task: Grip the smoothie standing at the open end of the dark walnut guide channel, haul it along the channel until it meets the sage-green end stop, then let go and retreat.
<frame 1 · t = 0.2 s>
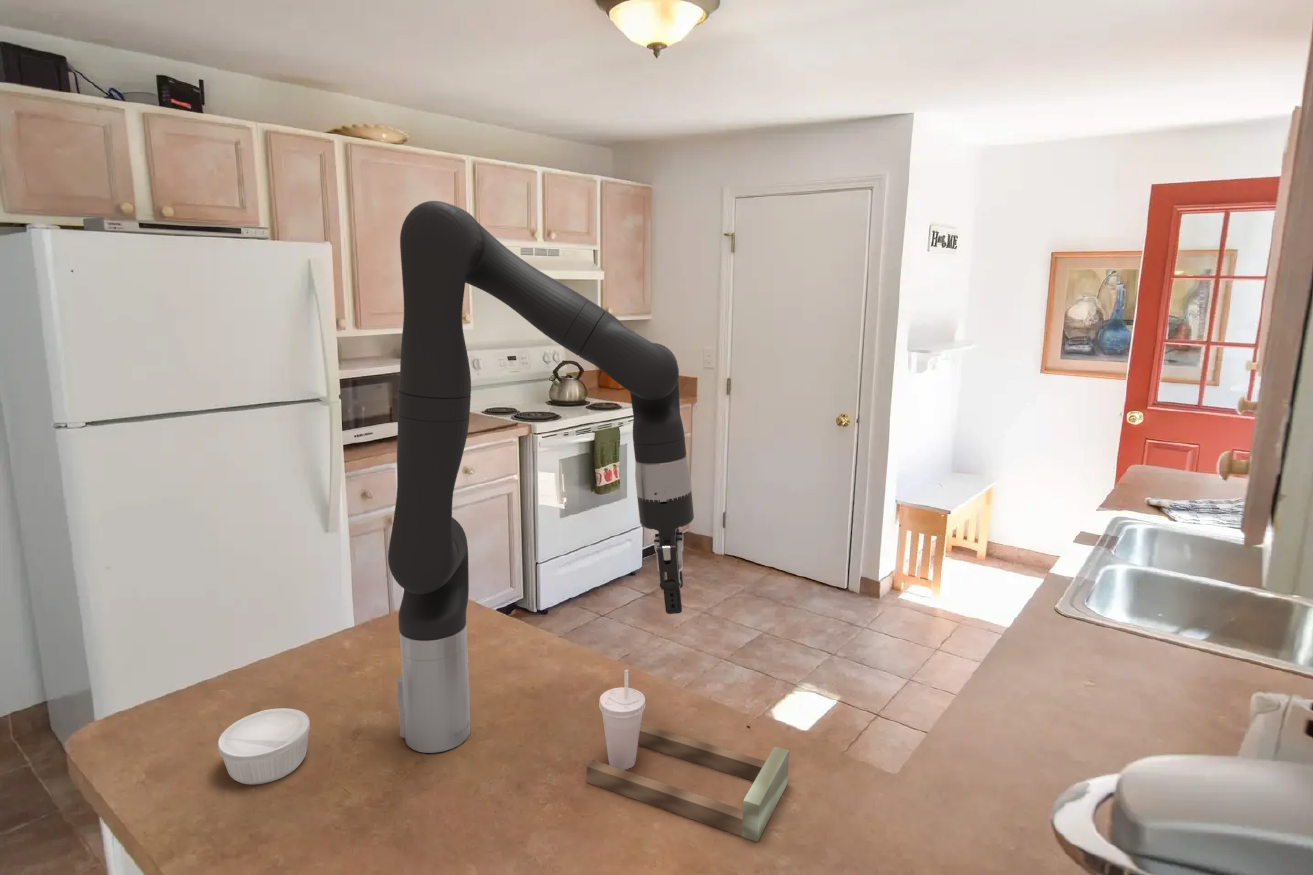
hand: (674, 599, 108), 22 cm above the countertop, tool pointing down, fingers open, 8 cm apart
smoothie: (621, 762, 106), on the countertop
guide channel: (687, 782, 102), on the countertop
ramekin: (268, 765, 105), on the countertop
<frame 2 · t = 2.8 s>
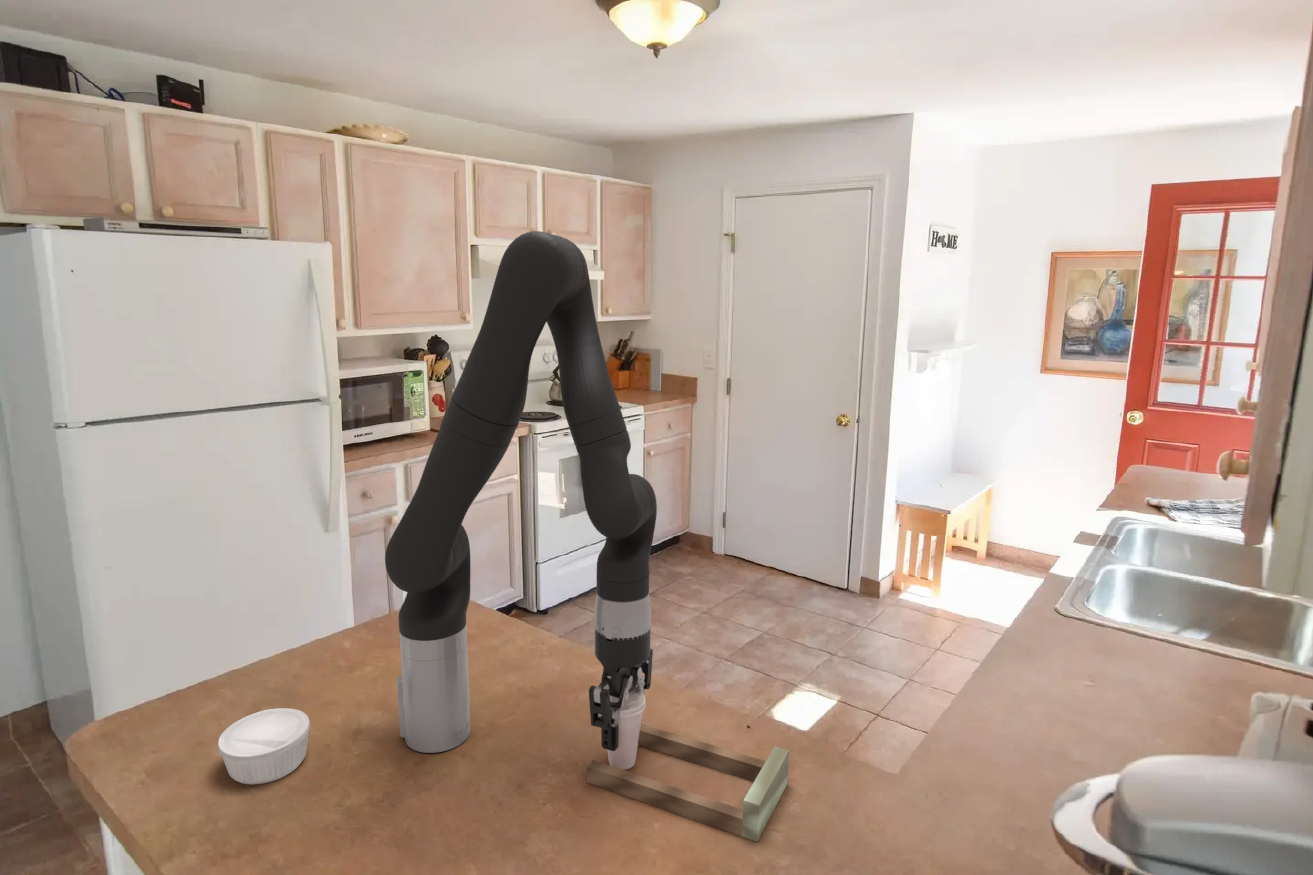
hand: (622, 734, 105), 4 cm above the countertop, tool pointing down, fingers closed on smoothie, 6 cm apart
smoothie: (621, 762, 106), on the countertop, touching gripper
everything else where it was.
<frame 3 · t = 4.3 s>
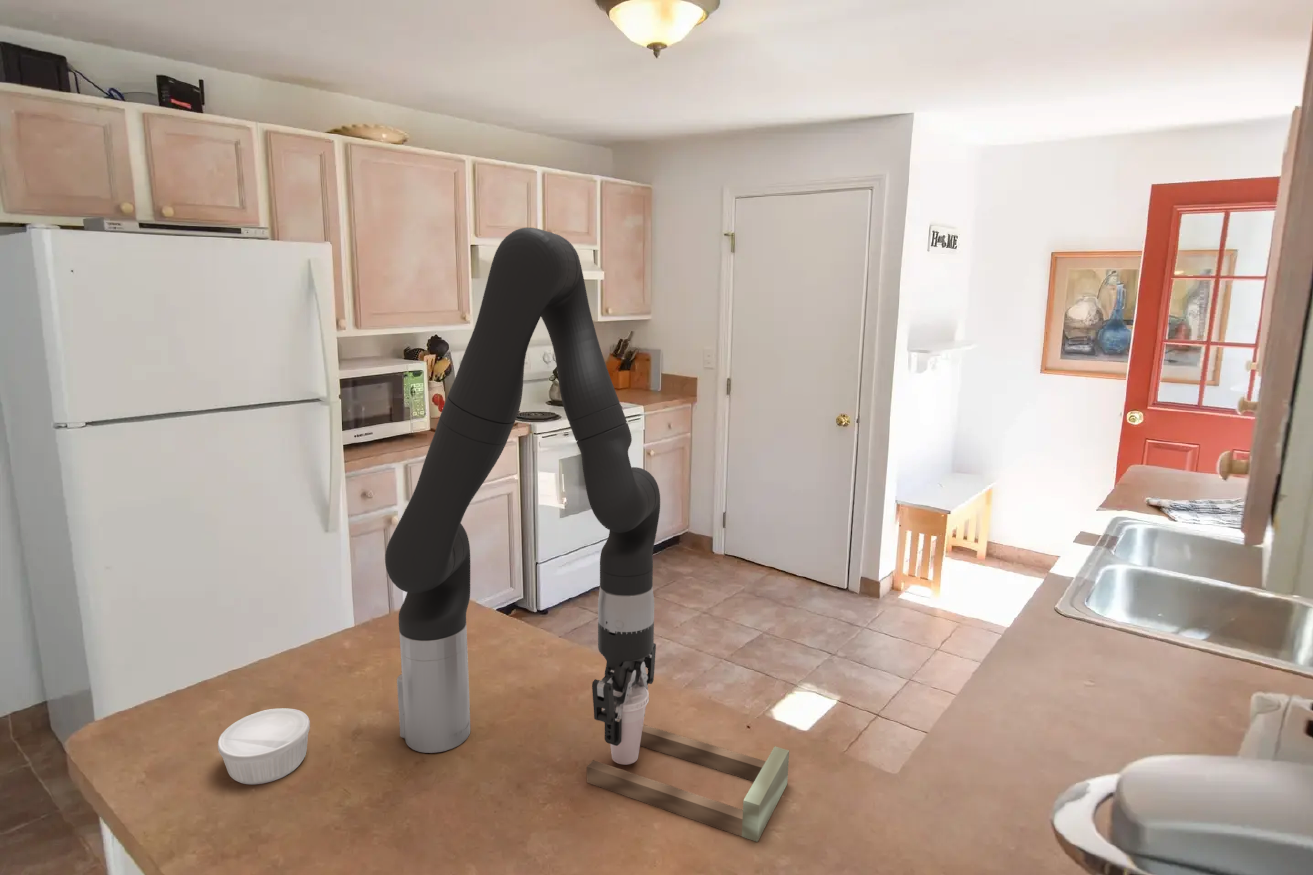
hand: (625, 729, 105), 5 cm above the countertop, tool pointing down, fingers closed on smoothie, 6 cm apart
smoothie: (624, 757, 106), point 1 cm above the countertop, touching gripper
everything else where it was.
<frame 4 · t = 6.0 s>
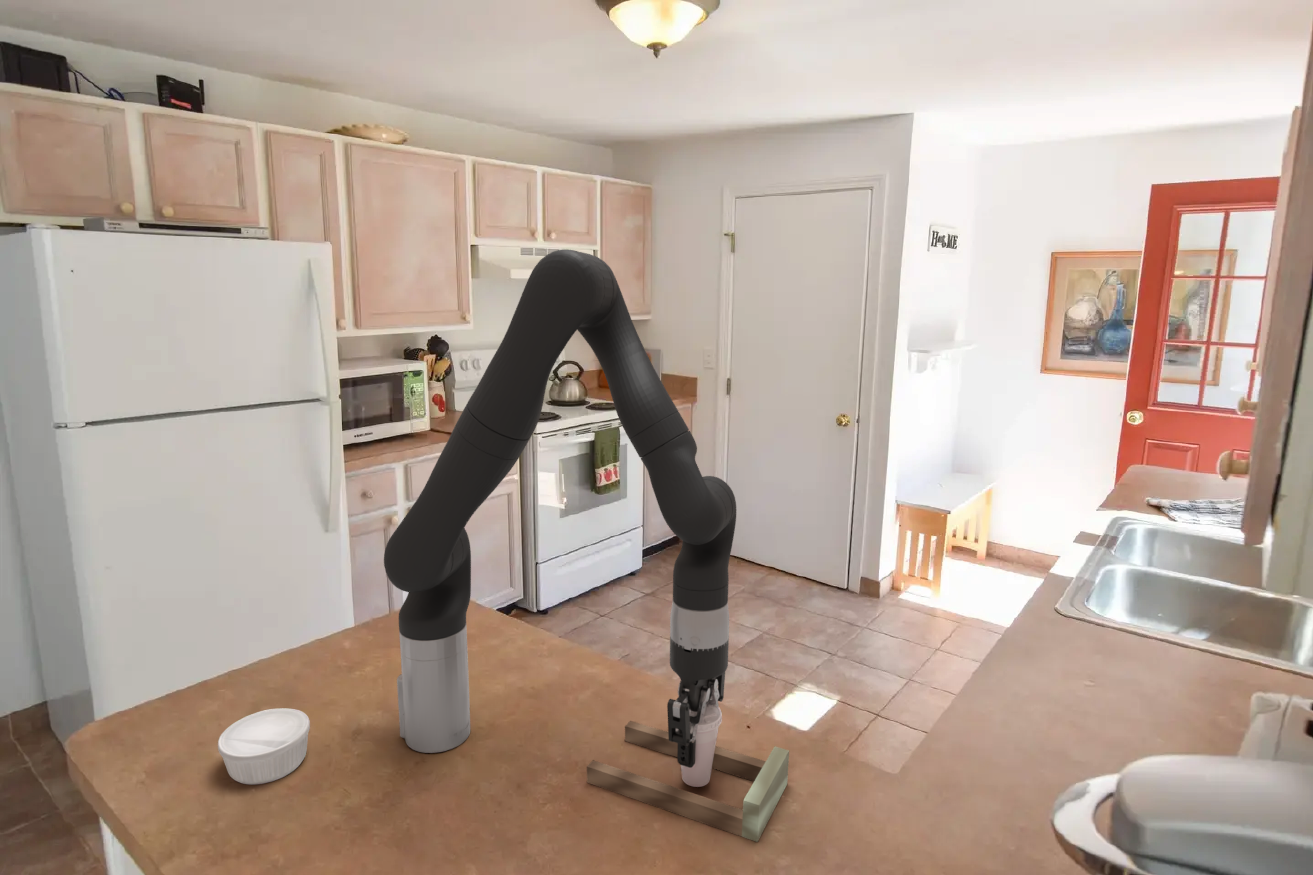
hand: (696, 749, 100), 5 cm above the countertop, tool pointing down, fingers closed on smoothie, 6 cm apart
smoothie: (695, 779, 101), point 1 cm above the countertop, touching gripper
everything else where it was.
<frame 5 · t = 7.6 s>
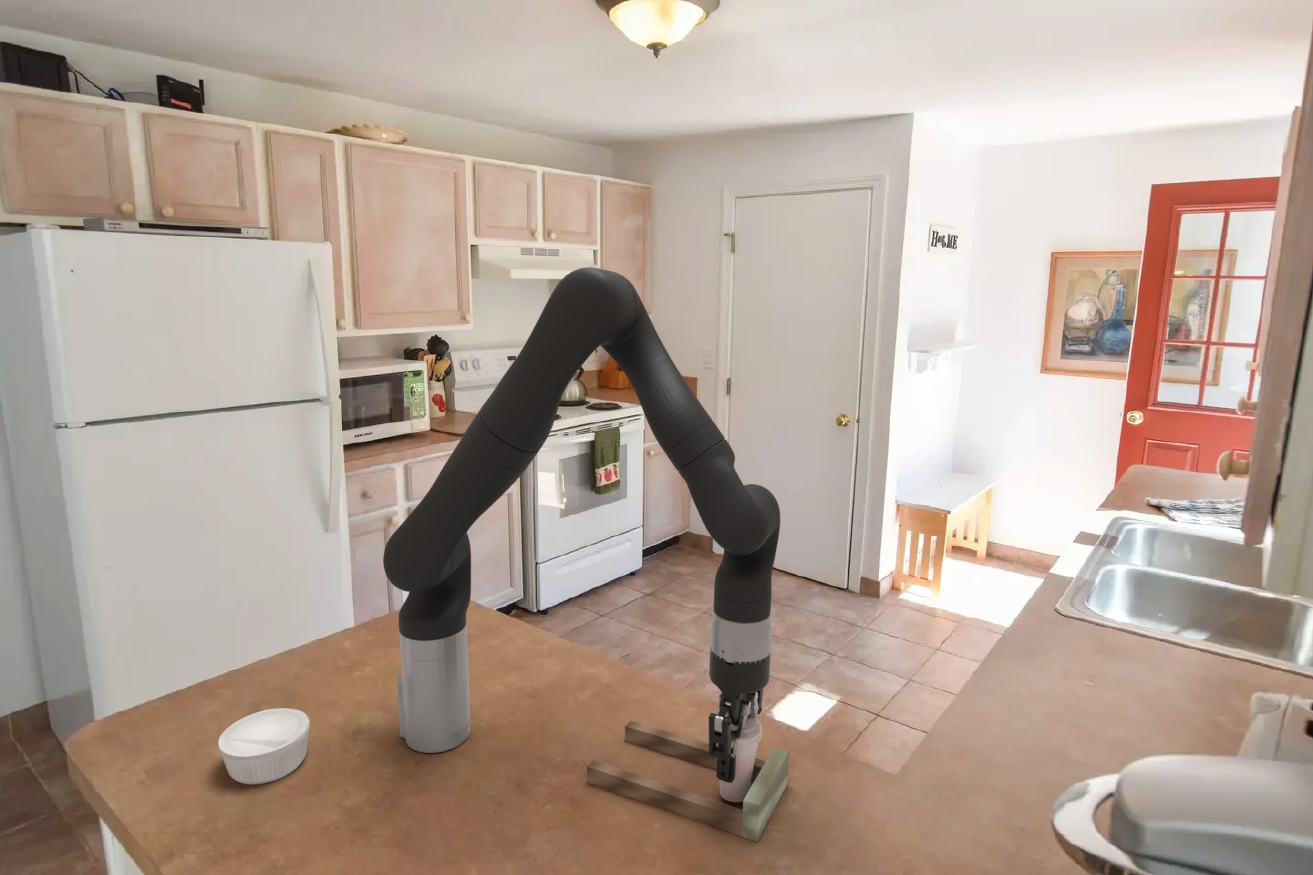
hand: (735, 764, 98), 5 cm above the countertop, tool pointing down, fingers closed on smoothie, 6 cm apart
smoothie: (733, 793, 99), point 1 cm above the countertop, touching gripper
everything else where it was.
when the fingers open (4 cm above the countertop, at t = 8.9 s): smoothie stays where it is, on the countertop.
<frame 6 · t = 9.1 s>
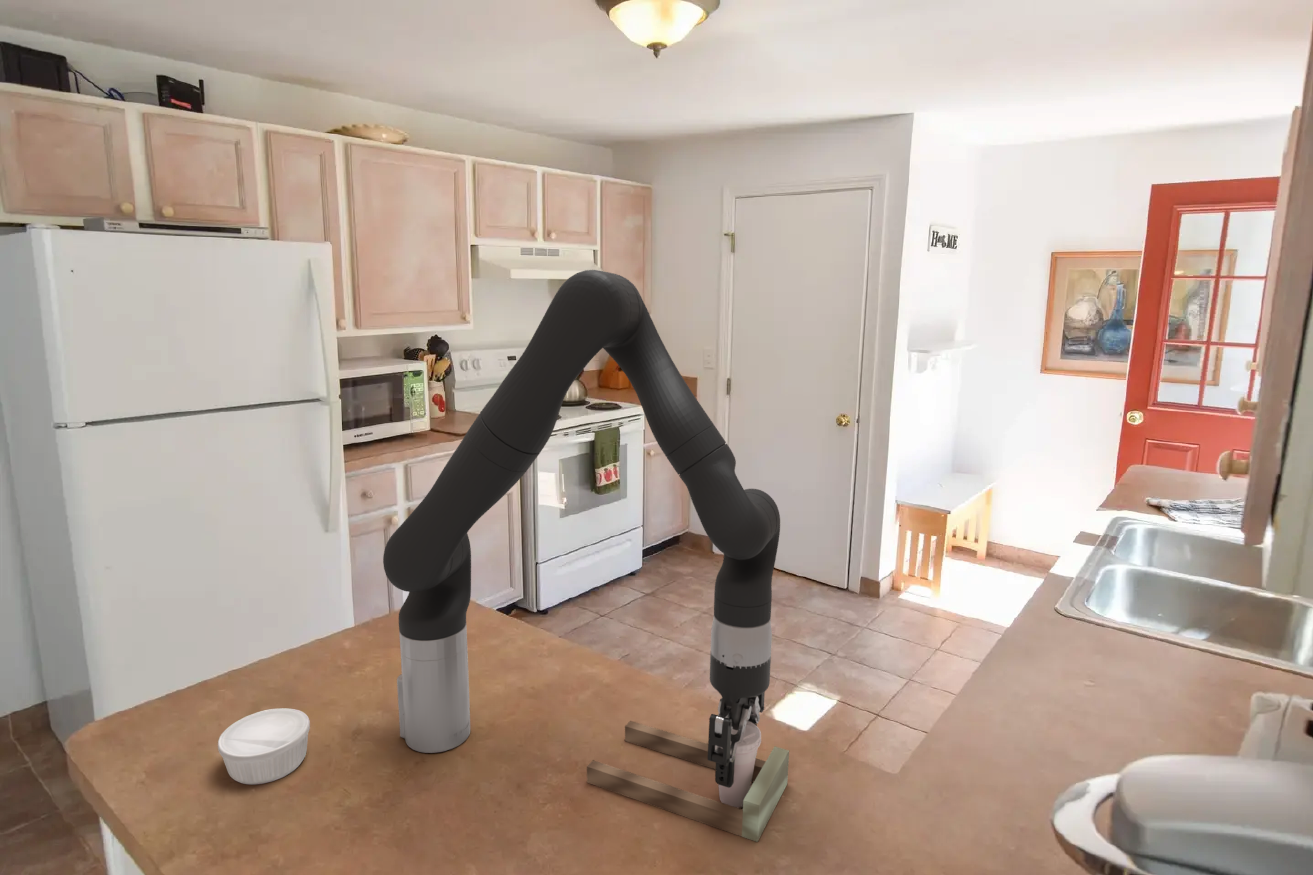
hand: (736, 765, 98), 5 cm above the countertop, tool pointing down, fingers open, 8 cm apart
smoothie: (733, 799, 99), on the countertop
everything else where it was.
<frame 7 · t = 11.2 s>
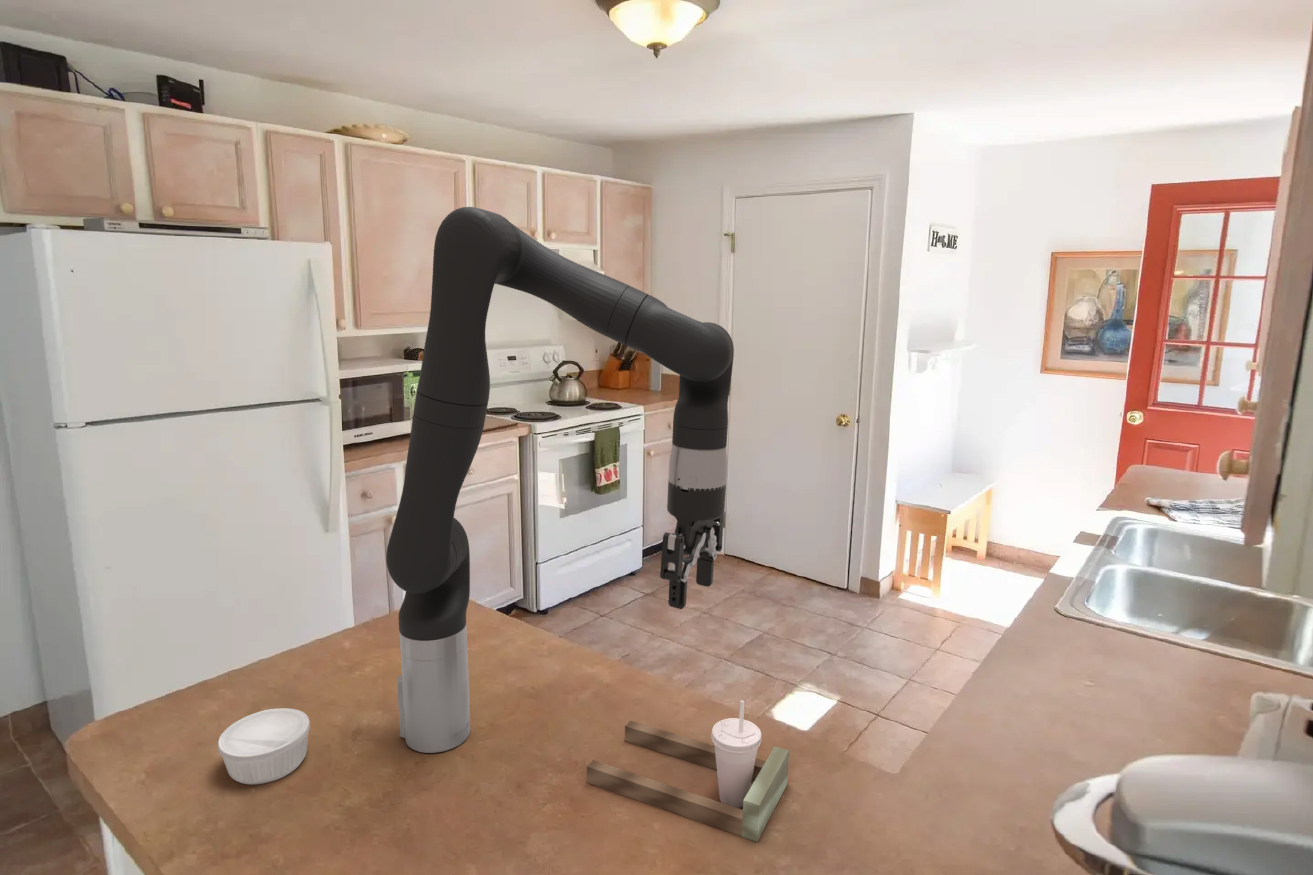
hand: (690, 595, 102), 25 cm above the countertop, tool pointing down, fingers open, 8 cm apart
nothing on the countertop moved.
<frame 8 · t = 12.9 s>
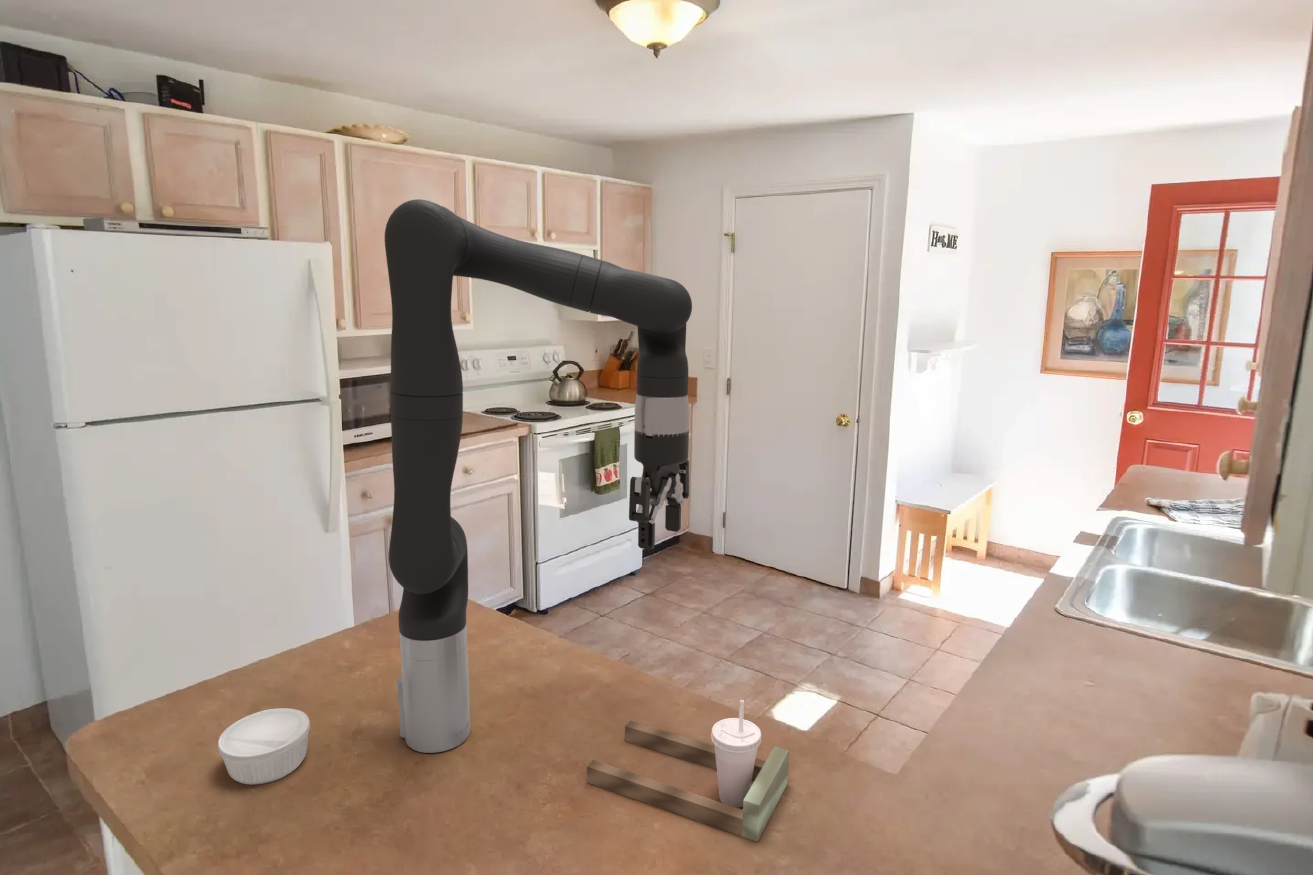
hand: (660, 539, 108), 30 cm above the countertop, tool pointing down, fingers open, 8 cm apart
nothing on the countertop moved.
at the end: smoothie inside the target area (0.1 cm from its centre), on the countertop; smoothie tilted 0°; the gripper is holding nothing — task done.
